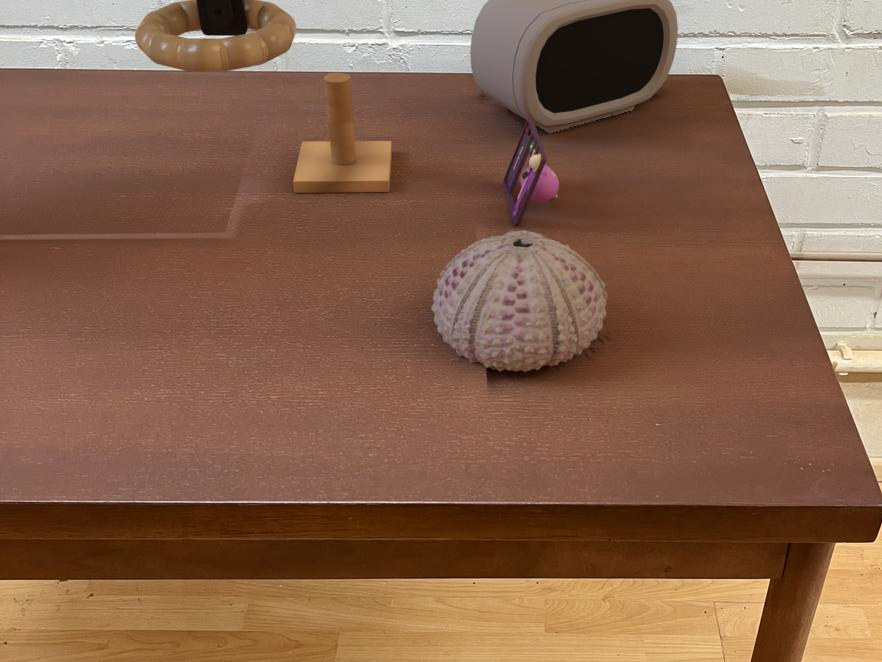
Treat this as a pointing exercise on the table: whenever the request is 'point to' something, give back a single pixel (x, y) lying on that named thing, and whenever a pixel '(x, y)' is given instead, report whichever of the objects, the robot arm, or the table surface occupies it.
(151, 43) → the ring
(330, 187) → the stand
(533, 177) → the purple toy package
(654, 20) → the alarm clock
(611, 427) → the table surface
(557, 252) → the sea urchin shell
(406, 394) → the table surface
